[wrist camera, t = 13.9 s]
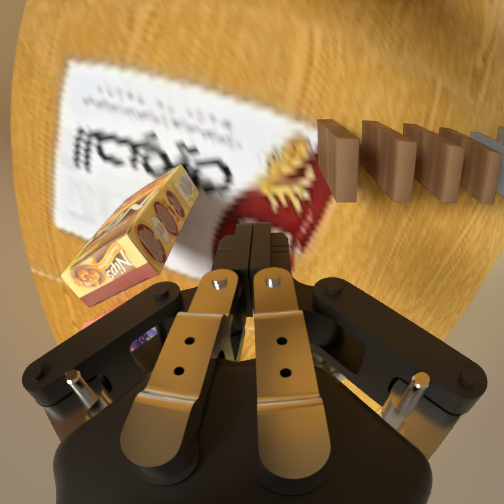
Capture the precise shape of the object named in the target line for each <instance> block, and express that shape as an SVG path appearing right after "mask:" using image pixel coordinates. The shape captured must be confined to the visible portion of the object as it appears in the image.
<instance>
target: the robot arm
mask: <svg viewBox="0 0 504 504" xmlns="http://www.w3.org/2000/svg"><path fill="white" fill-rule="evenodd" d="M253 309H254V324H255V350H256V358H255V359H251V360H246V361H240V356H241V351H242V346H243V341H244V336H245V323H246V317H253ZM154 327H155V329H156V331H157V334H156V335H155V336H153V337H152V338H151V339H149V340H148V341H146V342H145V343H143V344H142V345H141V346H139V347H138V348H136V349H135V350H134V351H132V352H130V346H131V344H132V343H133V342H134V341H135V340H136V339H138V338H139V337H140V336H142V335H143V334H145V333H146V332H148V331H149V330H151V329H152V328H154ZM309 343H310V345H309ZM310 346H311V348H312V350H313V351H314V352H315V353H316V354H318V355H319V356H320V357H321V358H322V359H324V360H325V361H326V362H327V363H328V364H330V365H331V366H332V367H333V368H335V369H336V370H337V371H338V372H339V373H341V374H342V375H343V376H344V377H346V378H347V379H348V380H349V381H350V382H352V383H353V384H354V385H355V386H357V387H358V388H359V389H360V390H362V391H363V392H364V393H365V394H367V395H368V396H369V397H370V398H372V399H373V400H374V401H375V402H377V403H378V404H379V405H381V406H382V418H381V417H380V416H379V415H378V414H377V413H376V412H375V411H373V410H372V409H371V408H370V407H369V406H368V405H366V404H365V403H364V402H363V401H362V400H361V399H360V398H358V397H357V396H356V395H355V394H354V393H353V392H352V391H351V390H349V389H348V388H347V387H346V386H345V385H344V384H343V383H342V382H340V381H339V380H338V379H337V378H336V377H335V376H333V375H332V374H330V373H329V372H327V371H325V370H323V369H321V368H319V367H316V366H314V365H313V360H312V355H311V350H310ZM239 361H240V362H239ZM22 384H23V386H24V388H25V389H26V390H27V391H28V392H29V393H30V394H31V395H32V396H33V397H34V398H35V400H36V402H37V403H38V404H39V405H40V406H41V407H42V408H43V409H44V410H45V412H46V414H47V416H48V418H49V420H50V422H51V424H52V426H53V428H54V430H55V432H56V434H57V435H58V437H59V439H60V441H61V443H60V445H59V446H58V448H57V450H56V453H55V456H54V461H53V471H54V478H55V483H56V504H426V503H427V501H428V499H429V496H430V493H431V489H432V471H431V467H430V464H429V462H428V460H429V458H430V457H431V456H432V455H433V454H434V452H435V451H436V450H437V448H438V447H439V446H440V444H441V443H442V442H443V440H444V439H445V438H446V436H447V435H448V434H449V432H450V431H451V430H452V429H453V428H454V427H455V426H456V425H457V424H458V422H460V420H461V419H462V418H463V417H464V416H465V415H466V414H467V413H468V411H469V410H470V409H471V408H472V407H473V406H474V404H475V403H476V402H477V401H478V400H479V398H480V397H481V396H482V395H483V393H484V392H485V390H486V388H487V377H486V374H485V372H484V371H483V369H482V368H481V367H480V366H479V365H478V364H476V363H475V362H473V361H472V360H470V359H469V358H467V357H466V356H464V355H463V354H461V353H459V352H458V351H456V350H455V349H453V348H452V347H450V346H449V345H447V344H446V343H444V342H443V341H441V340H440V339H438V338H436V337H435V336H433V335H432V334H430V333H429V332H427V331H426V330H424V329H422V328H421V327H419V326H418V325H416V324H415V323H413V322H411V321H410V320H408V319H407V318H405V317H404V316H402V315H400V314H399V313H397V312H396V311H394V310H392V309H391V308H389V307H388V306H386V305H384V304H383V303H381V302H380V301H378V300H376V299H375V298H373V297H372V296H370V295H368V294H367V293H365V292H364V291H362V290H360V289H359V288H357V287H355V286H354V285H352V284H351V283H349V282H347V281H345V280H343V279H341V278H335V277H329V278H324V279H321V280H319V281H318V282H317V283H316V284H315V285H314V286H309V285H305V284H302V283H300V282H298V281H296V280H295V279H294V278H293V277H292V275H291V267H290V255H289V244H288V238H287V237H286V236H285V235H284V234H283V233H271V223H270V222H265V223H254V225H253V223H244V224H237V225H236V230H235V234H234V235H225V236H224V237H223V238H222V239H221V240H220V241H219V244H218V248H217V251H216V255H215V258H214V262H213V266H212V269H211V271H210V272H208V273H207V274H205V275H204V276H203V277H202V279H201V281H200V283H199V286H197V287H195V288H191V289H187V290H182V291H180V288H179V286H178V285H177V284H175V283H173V282H159V283H156V284H154V285H152V286H150V287H149V288H147V289H146V290H144V291H142V292H141V293H139V294H138V295H136V296H134V297H133V298H131V299H130V300H128V301H126V302H125V303H123V304H122V305H120V306H119V307H117V308H115V309H114V310H112V311H111V312H109V313H108V314H106V315H104V316H103V317H101V318H100V319H98V320H97V321H95V322H94V323H92V324H90V325H89V326H87V327H86V328H84V329H83V330H81V331H80V332H78V333H77V334H75V335H73V336H72V337H70V338H69V339H67V340H66V341H64V342H63V343H61V344H60V345H58V346H57V347H55V348H54V349H52V350H51V351H49V352H48V353H46V354H45V355H43V356H42V357H40V358H39V359H37V360H36V361H34V362H33V363H31V364H30V365H29V366H28V367H27V368H26V370H25V371H24V373H23V376H22Z"/></svg>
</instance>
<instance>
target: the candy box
mask: <svg viewBox="0 0 504 504" xmlns="http://www.w3.org/2000/svg"><path fill="white" fill-rule="evenodd" d="M198 194H199V191H198V189H197V188H196V186H195V184H194V183H193V181H192V180H191V178H190V177H189V175H188V173H187V172H186V170H185V169H184V167H183V166H182V165H179V166H177V167H176V168H174V169H172V170H170V171H169V172H167V173H165V174H164V175H162V176H161V177H159V178H157V179H156V180H154V181H153V182H151V183H150V184H148V185H147V186H145V187H144V188H142V189H141V190H139V191H138V192H136V193H135V194H133V195H132V196H130V197H129V198H127V199H126V200H125V201H124V202H123V203H122V204H121V205H120V206H119V207H118V209H117V210H116V211H115V212H114V213H113V214H112V215H111V216H110V217H109V218H108V220H107V221H106V222H105V223H104V224H103V225H102V227H101V228H100V229H99V230H98V231H97V232H96V233H95V235H94V236H93V237H92V238H91V239H90V240H89V242H88V243H87V244H86V245H85V246H84V248H83V249H82V250H81V251H80V253H79V254H78V255H77V256H76V257H75V259H74V260H73V261H72V262H71V264H70V265H69V266H68V267H67V269H66V270H65V271H64V272H63V274H62V275H61V277H62V278H63V279H64V281H65V282H66V283H67V284H68V285H69V287H70V288H71V289H72V290H73V291H74V292H75V293H76V295H77V296H78V297H79V298H80V299H81V300H82V301H83V302H84V303H85V304H86V305H87V306H88V307H89V308H90V307H92V306H95V305H97V304H99V303H101V302H103V301H105V300H107V299H109V298H111V297H113V296H115V295H117V294H119V293H121V292H123V291H125V290H127V289H129V288H131V287H133V286H136V285H138V284H140V283H142V282H144V281H146V280H148V279H151V278H153V277H155V276H158V275H160V273H161V271H162V268H163V266H164V264H165V262H166V260H167V258H168V256H169V254H170V251H171V249H172V247H173V245H174V243H175V241H176V239H177V237H178V234H179V232H180V230H181V228H182V226H183V224H184V222H185V220H186V218H187V216H188V214H189V212H190V210H191V208H192V206H193V204H194V202H195V200H196V198H197V196H198Z"/></svg>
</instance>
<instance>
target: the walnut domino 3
mask: <svg viewBox="0 0 504 504" xmlns="http://www.w3.org/2000/svg"><path fill="white" fill-rule="evenodd" d="M403 135H404V136H406V137H408V138H409V139H411V140H413V141H415V142H417V150H416V161H415V171H414V178H415V179H416V180H417V181H419V182H420V183H421V184H422V185H423V186H424V187H425V188H427V189H428V190H429V191H430V192H431V193H432V194H433V195H434V196H435V197H436V198H438V199H439V200H440V201H441V202H442V203H456V202H457V197H458V191H459V186H460V180H461V173H462V167H463V159H464V151H465V148H464V147H462V146H460V145H458V144H456V143H454V142H452V141H450V140H448V139H446V138H444V137H442V136H440V135H438V134H436V133H434V132H432V131H430V130H427V129H425V128H423V127H421V126H418V125H416V124H407V123H403Z"/></svg>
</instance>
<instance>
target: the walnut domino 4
mask: <svg viewBox="0 0 504 504" xmlns="http://www.w3.org/2000/svg"><path fill="white" fill-rule="evenodd" d="M439 135H440V136H442V137H444V138H446V139H448V140H450V141H452V142H454V143H456V144H458V145H460V146H462V147H464V148H465V151H464V159H463V167H462V173H461V180H460V187H461V188H463V189H464V190H465V191H466V192H468V193H469V194H470V195H471V196H473V197H474V198H475V199H476V200H478V201H479V202H480V203H481V204H490V205H493V204H494V199H495V195H496V190H497V185H498V180H499V174H500V169H501V162H502V156H503V154H502V153H500V152H498V151H496V150H494V149H492V148H490V147H488V146H486V145H484V144H482V143H480V142H478V141H476V140H474V139H472V138H470V137H468V136H466V135H464V134H461V133H459V132H457V131H455V130H452V129H449V128H442V127H440V129H439Z"/></svg>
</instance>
